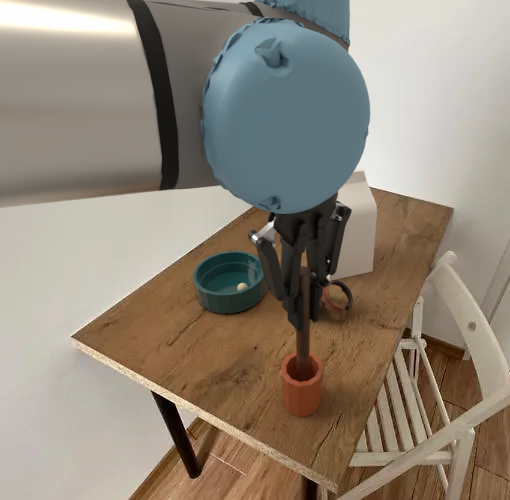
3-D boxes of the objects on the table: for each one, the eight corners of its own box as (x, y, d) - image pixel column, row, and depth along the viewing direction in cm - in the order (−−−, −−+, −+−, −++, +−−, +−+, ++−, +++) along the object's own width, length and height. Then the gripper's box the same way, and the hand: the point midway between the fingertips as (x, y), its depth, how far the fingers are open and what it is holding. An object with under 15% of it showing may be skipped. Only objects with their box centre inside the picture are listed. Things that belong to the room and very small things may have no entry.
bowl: (215, 326, 74) (211, 305, 70) (186, 286, 83) (181, 266, 79) (278, 295, 82) (277, 276, 79) (246, 262, 91) (244, 243, 88)
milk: (329, 280, 88) (335, 185, 72) (314, 254, 96) (316, 163, 81) (372, 271, 92) (386, 178, 76) (354, 246, 100) (363, 158, 85)
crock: (297, 424, 58) (297, 393, 53) (275, 395, 62) (273, 364, 57) (328, 401, 62) (331, 370, 57) (306, 375, 66) (306, 344, 61)
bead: (243, 294, 79) (234, 289, 80) (245, 296, 82) (236, 291, 82) (249, 284, 80) (239, 280, 80) (250, 287, 82) (241, 282, 83)
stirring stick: (301, 374, 56) (301, 277, 44) (294, 365, 57) (292, 269, 45) (311, 367, 57) (314, 271, 45) (304, 359, 58) (305, 263, 46)
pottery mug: (322, 289, 86) (341, 271, 81) (343, 323, 83) (364, 305, 78) (284, 304, 77) (303, 284, 72) (307, 342, 74) (328, 324, 69)
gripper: (336, 139, 43) (327, 284, 57) (218, 166, 35) (242, 328, 48) (380, 160, 38) (359, 312, 52) (257, 196, 30) (271, 365, 44)
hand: (303, 320), depth 50 cm, fingers closed on stirring stick, 2 cm apart
